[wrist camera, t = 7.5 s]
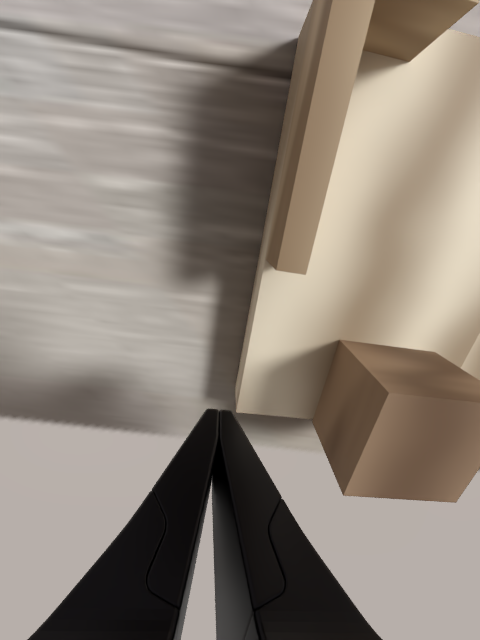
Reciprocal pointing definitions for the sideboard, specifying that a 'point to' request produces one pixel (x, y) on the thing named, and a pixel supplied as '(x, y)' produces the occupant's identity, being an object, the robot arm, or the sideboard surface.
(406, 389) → the walnut block
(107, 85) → the sideboard surface
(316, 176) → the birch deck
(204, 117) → the sideboard surface
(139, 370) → the sideboard surface
